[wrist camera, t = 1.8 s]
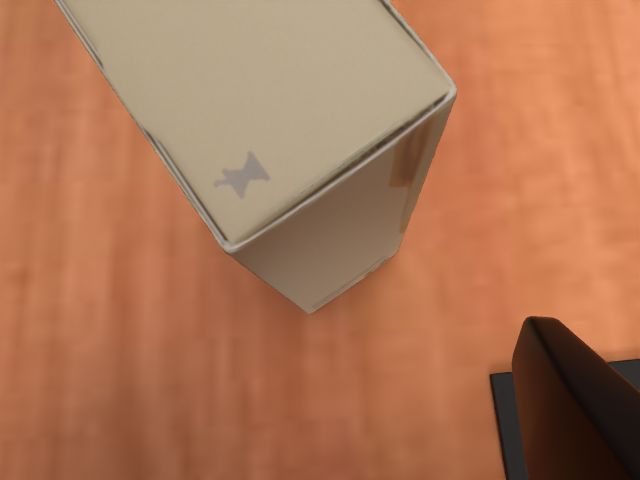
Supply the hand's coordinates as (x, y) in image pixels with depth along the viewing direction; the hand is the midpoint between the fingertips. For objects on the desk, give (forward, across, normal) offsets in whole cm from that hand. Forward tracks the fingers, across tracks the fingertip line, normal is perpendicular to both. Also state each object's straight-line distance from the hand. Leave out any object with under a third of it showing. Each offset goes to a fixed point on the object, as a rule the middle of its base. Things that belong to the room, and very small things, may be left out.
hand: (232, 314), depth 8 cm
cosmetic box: (+11, 0, +5) cm, 12 cm away
